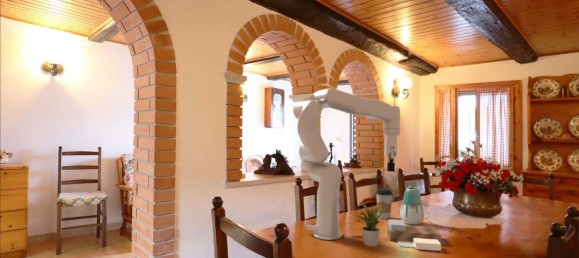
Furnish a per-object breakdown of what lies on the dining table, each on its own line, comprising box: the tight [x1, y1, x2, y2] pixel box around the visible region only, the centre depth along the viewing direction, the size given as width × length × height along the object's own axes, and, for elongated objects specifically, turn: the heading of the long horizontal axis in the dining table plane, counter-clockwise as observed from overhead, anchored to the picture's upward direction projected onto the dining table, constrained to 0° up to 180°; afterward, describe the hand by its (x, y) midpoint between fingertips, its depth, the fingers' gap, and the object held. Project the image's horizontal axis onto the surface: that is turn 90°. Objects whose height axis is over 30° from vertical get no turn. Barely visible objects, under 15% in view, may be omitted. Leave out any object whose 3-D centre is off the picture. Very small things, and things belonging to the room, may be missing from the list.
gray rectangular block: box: [388, 219, 407, 231], centre depth 149 cm, size 9×6×2 cm, turn 169°
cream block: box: [413, 238, 442, 252], centre depth 134 cm, size 9×6×2 cm, turn 79°
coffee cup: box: [375, 188, 393, 220], centre depth 183 cm, size 8×8×15 cm
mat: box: [396, 241, 416, 249], centre depth 138 cm, size 12×7×1 cm, turn 79°
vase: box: [399, 186, 425, 226], centre depth 173 cm, size 12×12×18 cm
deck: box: [386, 223, 442, 245], centre depth 147 cm, size 20×12×4 cm, turn 79°
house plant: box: [352, 204, 384, 247], centre depth 140 cm, size 14×14×16 cm
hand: (390, 171), depth 162 cm, fingers closed
